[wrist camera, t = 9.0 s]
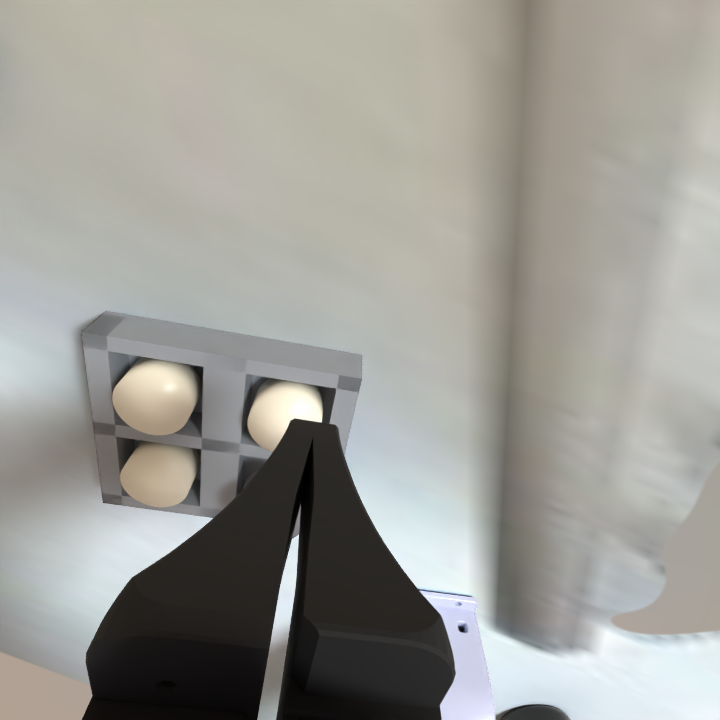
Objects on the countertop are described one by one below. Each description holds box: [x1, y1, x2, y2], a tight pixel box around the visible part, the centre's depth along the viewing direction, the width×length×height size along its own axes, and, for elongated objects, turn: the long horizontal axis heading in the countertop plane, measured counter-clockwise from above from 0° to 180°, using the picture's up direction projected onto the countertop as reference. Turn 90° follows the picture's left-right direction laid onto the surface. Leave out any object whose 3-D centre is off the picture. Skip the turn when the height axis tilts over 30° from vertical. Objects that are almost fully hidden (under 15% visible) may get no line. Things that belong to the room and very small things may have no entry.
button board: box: [81, 311, 362, 518], centre depth 25 cm, size 13×11×2 cm
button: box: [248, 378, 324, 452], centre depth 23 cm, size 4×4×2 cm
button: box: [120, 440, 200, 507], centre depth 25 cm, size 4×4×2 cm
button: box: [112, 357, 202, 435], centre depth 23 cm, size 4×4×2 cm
